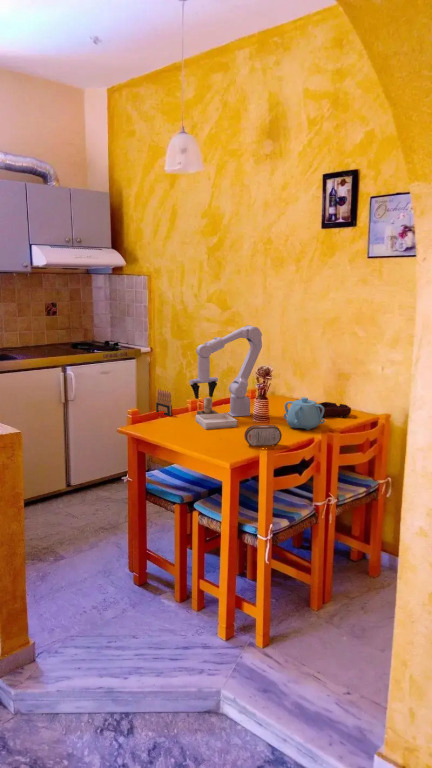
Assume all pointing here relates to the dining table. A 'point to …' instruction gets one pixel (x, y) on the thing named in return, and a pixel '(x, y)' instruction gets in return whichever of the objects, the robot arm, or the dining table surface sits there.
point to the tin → (263, 435)
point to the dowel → (207, 405)
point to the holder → (203, 412)
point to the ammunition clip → (164, 402)
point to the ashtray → (334, 410)
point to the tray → (216, 421)
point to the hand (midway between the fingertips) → (203, 397)
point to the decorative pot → (304, 414)
